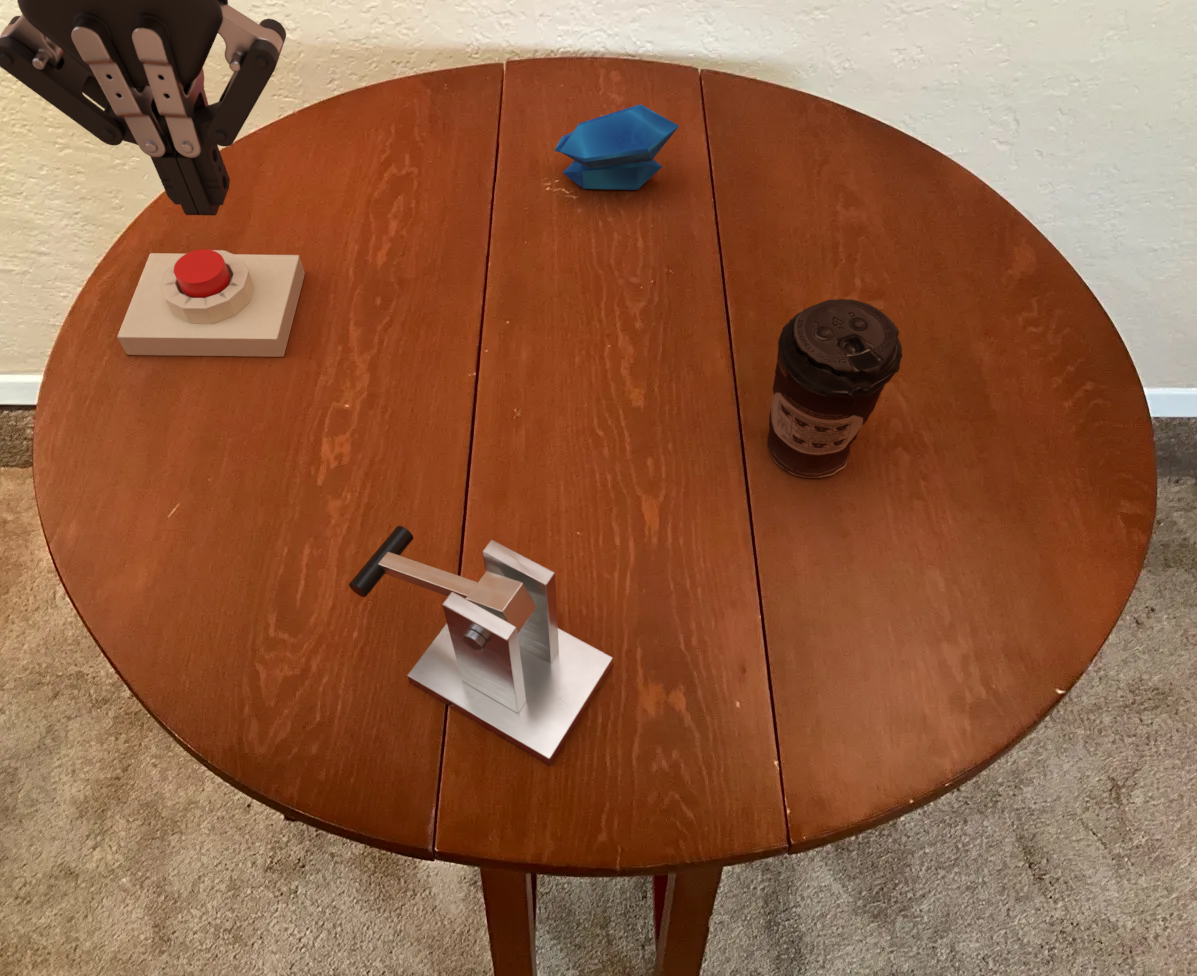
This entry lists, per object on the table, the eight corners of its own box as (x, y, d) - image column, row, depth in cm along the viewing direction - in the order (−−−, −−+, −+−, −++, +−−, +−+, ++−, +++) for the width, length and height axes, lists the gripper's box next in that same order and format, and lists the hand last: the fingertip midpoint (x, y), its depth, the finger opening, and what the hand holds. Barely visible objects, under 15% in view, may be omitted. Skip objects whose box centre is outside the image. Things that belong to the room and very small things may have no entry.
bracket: (409, 682, 64) (377, 597, 54) (477, 591, 68) (459, 496, 58) (550, 766, 61) (543, 691, 51) (613, 664, 65) (618, 578, 55)
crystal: (542, 98, 90) (670, 69, 88) (565, 173, 97) (684, 148, 95) (543, 147, 85) (677, 118, 84) (567, 223, 92) (691, 197, 91)
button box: (127, 355, 80) (107, 321, 77) (158, 271, 86) (142, 236, 82) (283, 357, 80) (271, 323, 77) (305, 273, 86) (294, 238, 83)
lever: (358, 599, 61) (341, 576, 60) (405, 541, 64) (390, 518, 62) (503, 655, 55) (488, 631, 53) (549, 589, 57) (536, 563, 56)
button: (175, 298, 79) (167, 282, 77) (187, 264, 81) (180, 248, 80) (224, 299, 79) (217, 283, 77) (235, 265, 81) (229, 249, 80)
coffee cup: (850, 508, 72) (897, 395, 62) (742, 478, 74) (769, 363, 63) (870, 422, 77) (916, 303, 66) (768, 395, 78) (797, 275, 68)
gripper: (254, -212, 38) (344, 161, 52) (-83, -218, 38) (99, 158, 52) (210, -125, 34) (321, 256, 48) (-171, -130, 34) (53, 253, 48)
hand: (205, 204), depth 50 cm, fingers closed
